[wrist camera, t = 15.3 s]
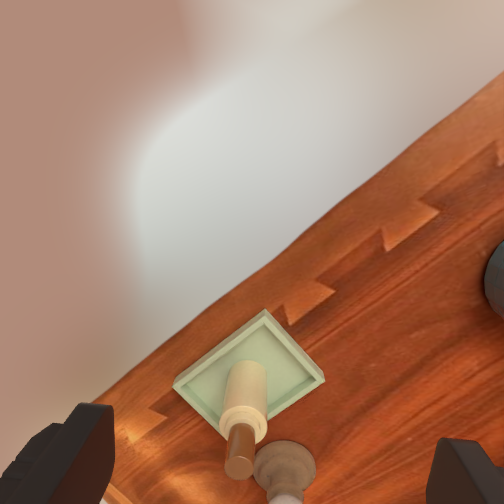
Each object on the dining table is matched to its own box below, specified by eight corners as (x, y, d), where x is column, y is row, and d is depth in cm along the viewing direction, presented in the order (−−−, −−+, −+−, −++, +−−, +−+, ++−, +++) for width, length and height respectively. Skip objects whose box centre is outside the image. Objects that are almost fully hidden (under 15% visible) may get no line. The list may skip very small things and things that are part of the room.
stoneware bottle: (228, 357, 49) (212, 443, 35) (269, 361, 49) (269, 448, 35) (226, 392, 50) (210, 488, 37) (266, 396, 50) (264, 493, 36)
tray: (265, 308, 48) (264, 315, 46) (323, 371, 50) (325, 381, 48) (175, 377, 51) (171, 386, 49) (233, 434, 53) (231, 445, 51)
